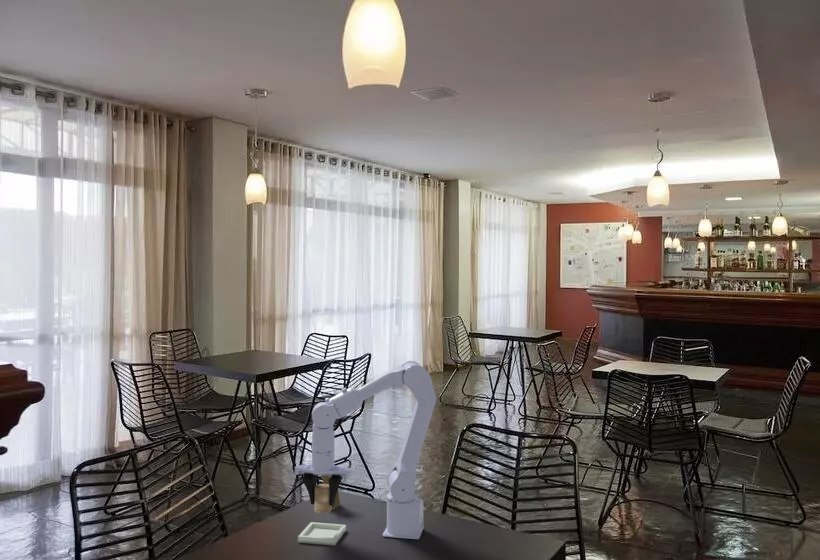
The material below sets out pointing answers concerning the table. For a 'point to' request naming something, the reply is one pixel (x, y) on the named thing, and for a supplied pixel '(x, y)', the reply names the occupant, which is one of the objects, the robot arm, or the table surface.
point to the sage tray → (322, 533)
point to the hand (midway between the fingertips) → (322, 503)
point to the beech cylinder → (322, 498)
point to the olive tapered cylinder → (337, 501)
